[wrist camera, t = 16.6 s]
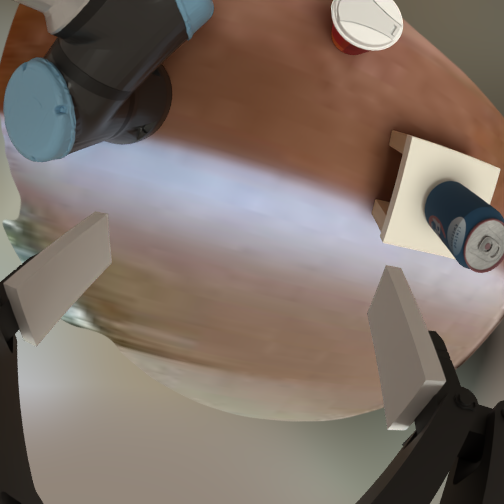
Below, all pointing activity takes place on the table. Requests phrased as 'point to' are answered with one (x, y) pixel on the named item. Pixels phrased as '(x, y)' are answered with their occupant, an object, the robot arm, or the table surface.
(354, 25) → the paper cup
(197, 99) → the table surface
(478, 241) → the soda can
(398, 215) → the small white stool
